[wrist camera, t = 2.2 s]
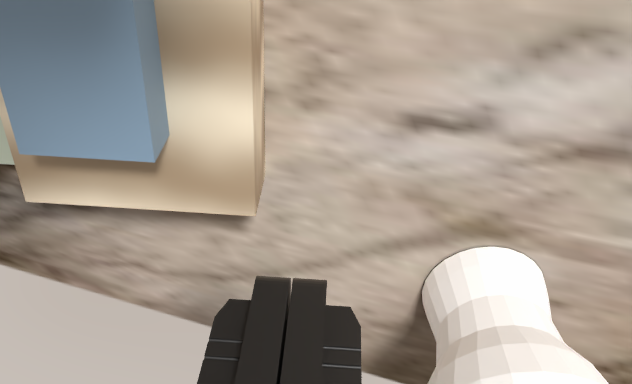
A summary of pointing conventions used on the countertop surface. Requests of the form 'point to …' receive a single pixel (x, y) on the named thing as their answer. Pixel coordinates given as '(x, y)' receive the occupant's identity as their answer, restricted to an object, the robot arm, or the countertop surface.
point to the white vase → (497, 323)
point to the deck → (181, 123)
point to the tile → (83, 78)
